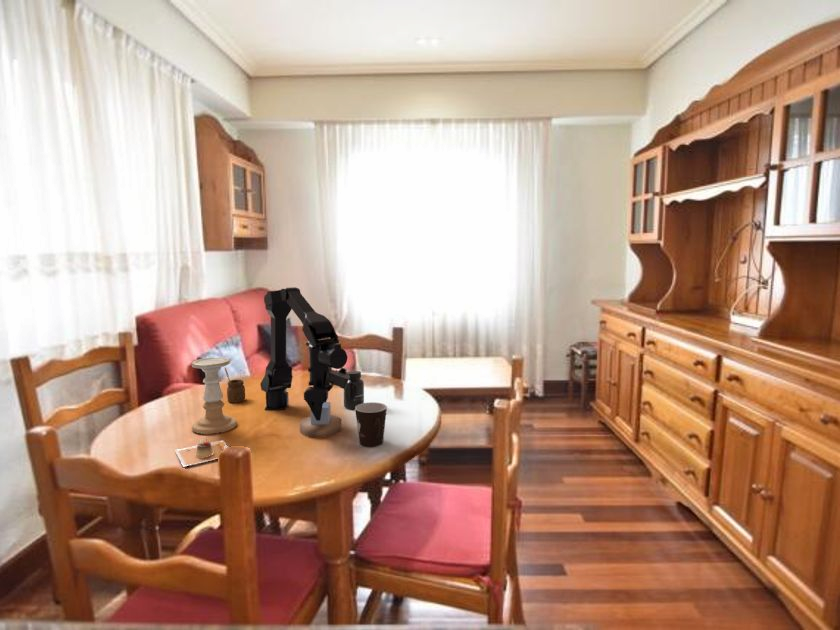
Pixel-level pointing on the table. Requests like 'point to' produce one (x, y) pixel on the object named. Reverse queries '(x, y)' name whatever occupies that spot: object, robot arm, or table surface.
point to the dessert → (200, 451)
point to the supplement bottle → (354, 390)
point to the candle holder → (213, 398)
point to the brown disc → (321, 427)
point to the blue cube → (322, 415)
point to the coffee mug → (371, 423)
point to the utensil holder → (235, 390)
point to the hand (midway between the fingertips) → (320, 414)
